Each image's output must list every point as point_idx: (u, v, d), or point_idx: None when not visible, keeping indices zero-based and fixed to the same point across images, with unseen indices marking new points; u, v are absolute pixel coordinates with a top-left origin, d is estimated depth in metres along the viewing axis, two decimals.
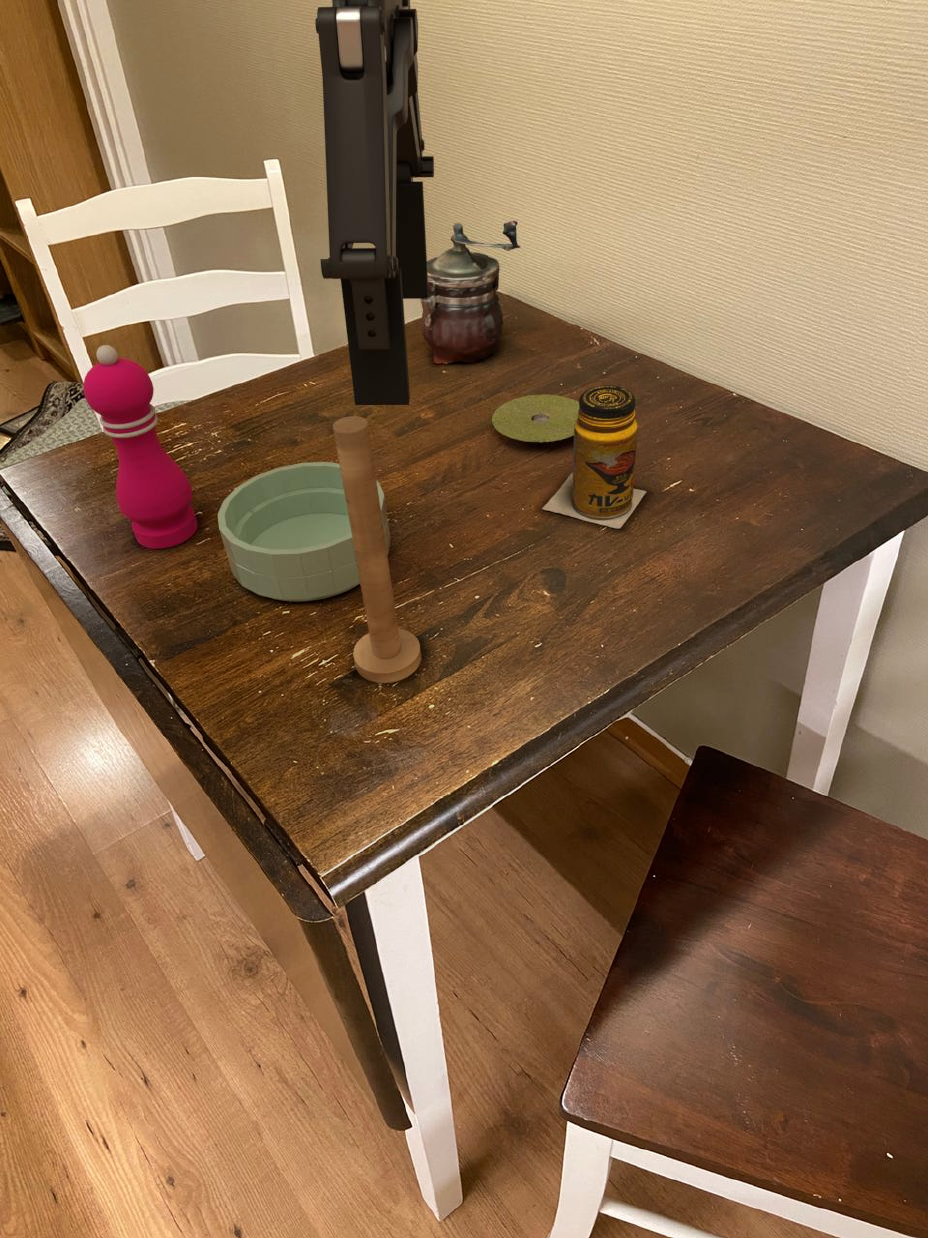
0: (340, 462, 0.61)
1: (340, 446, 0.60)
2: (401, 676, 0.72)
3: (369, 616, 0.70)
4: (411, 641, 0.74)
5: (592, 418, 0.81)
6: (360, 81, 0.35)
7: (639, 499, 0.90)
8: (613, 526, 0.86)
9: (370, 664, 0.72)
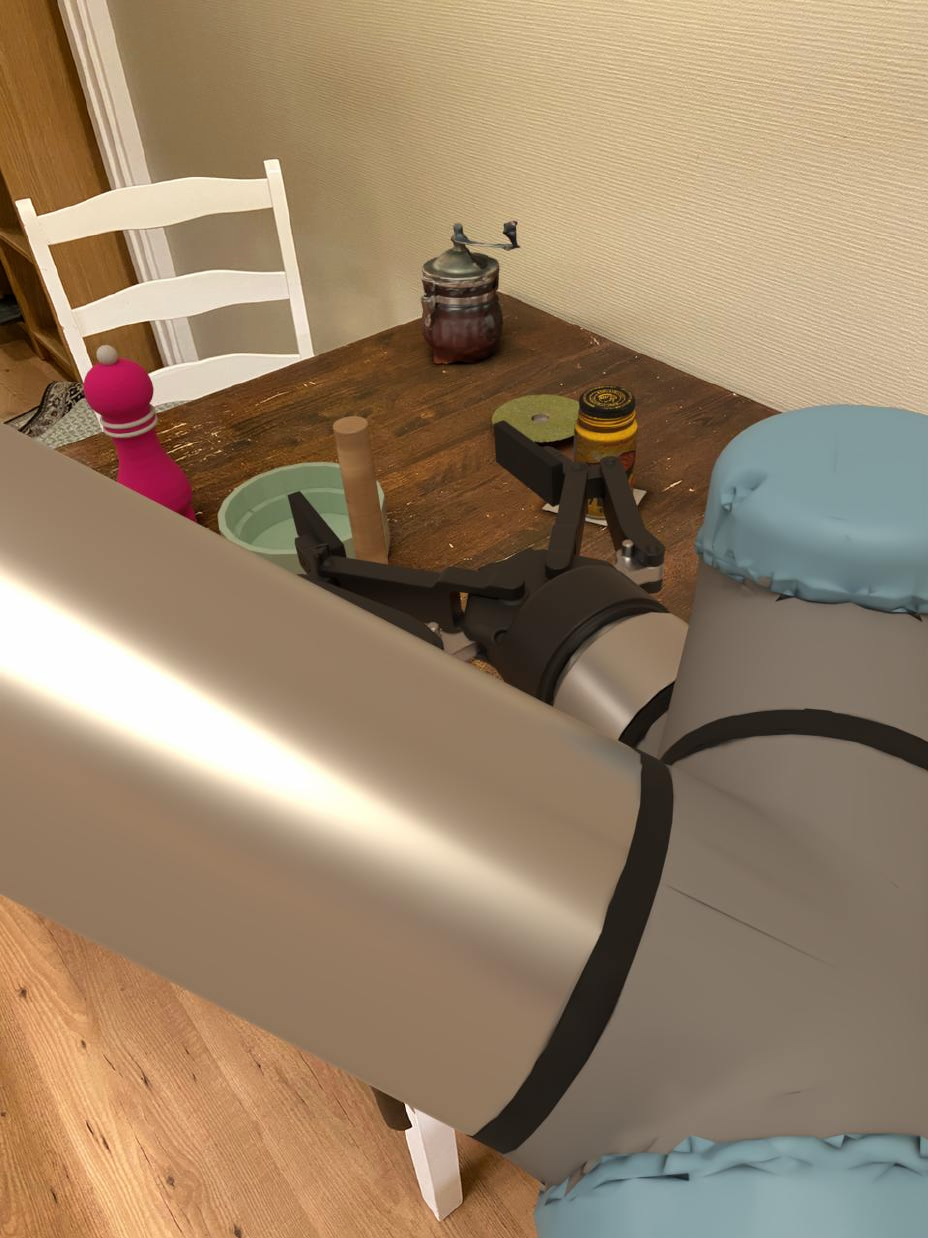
0: (340, 462, 0.61)
1: (340, 446, 0.60)
2: None
3: None
4: None
5: (592, 418, 0.81)
6: None
7: (639, 499, 0.90)
8: None
9: None
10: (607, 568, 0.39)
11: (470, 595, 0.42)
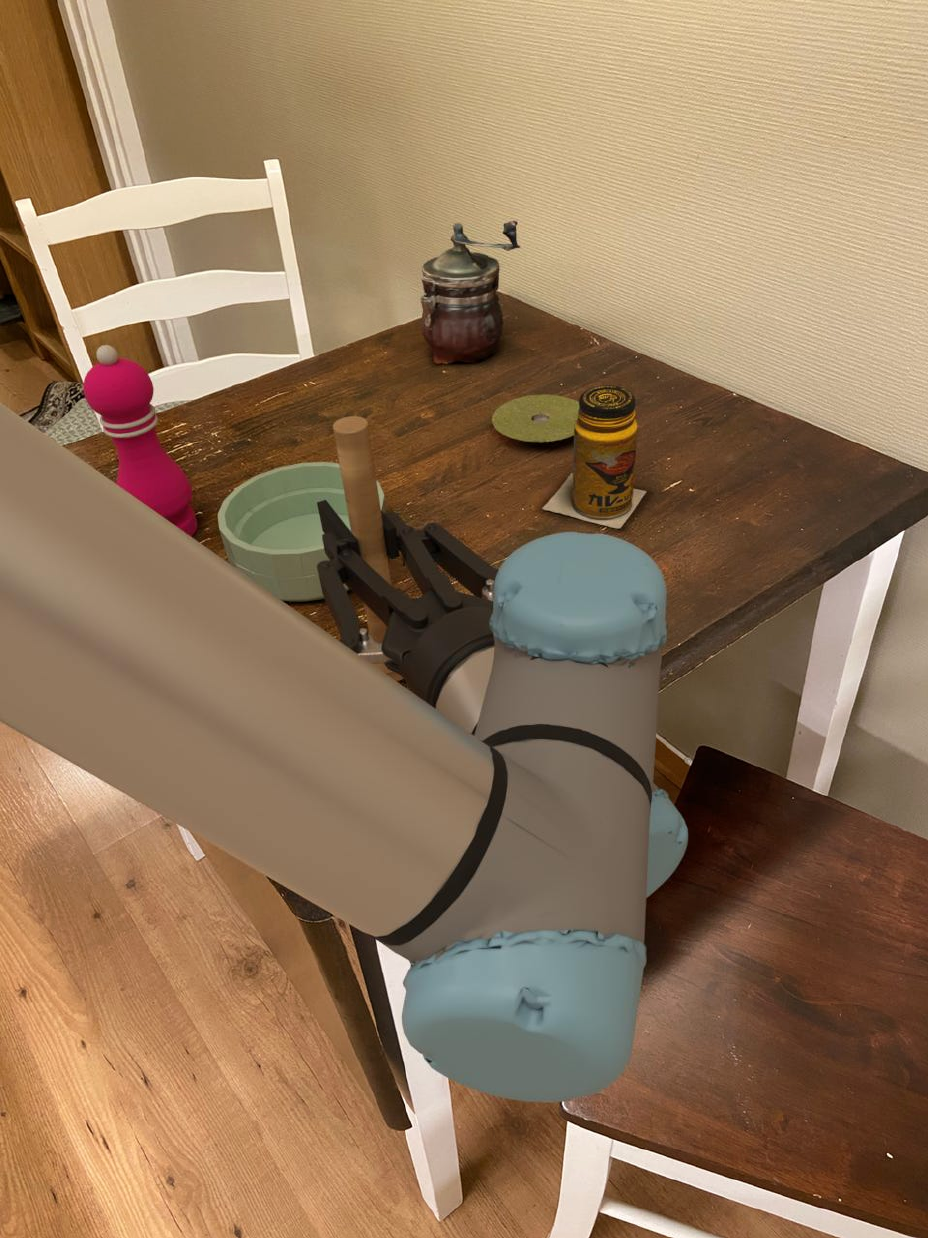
0: (340, 462, 0.61)
1: (340, 446, 0.60)
2: (401, 676, 0.72)
3: (369, 616, 0.70)
4: None
5: (592, 418, 0.81)
6: None
7: (639, 499, 0.90)
8: (613, 526, 0.86)
9: None
10: (483, 609, 0.54)
11: (389, 623, 0.58)
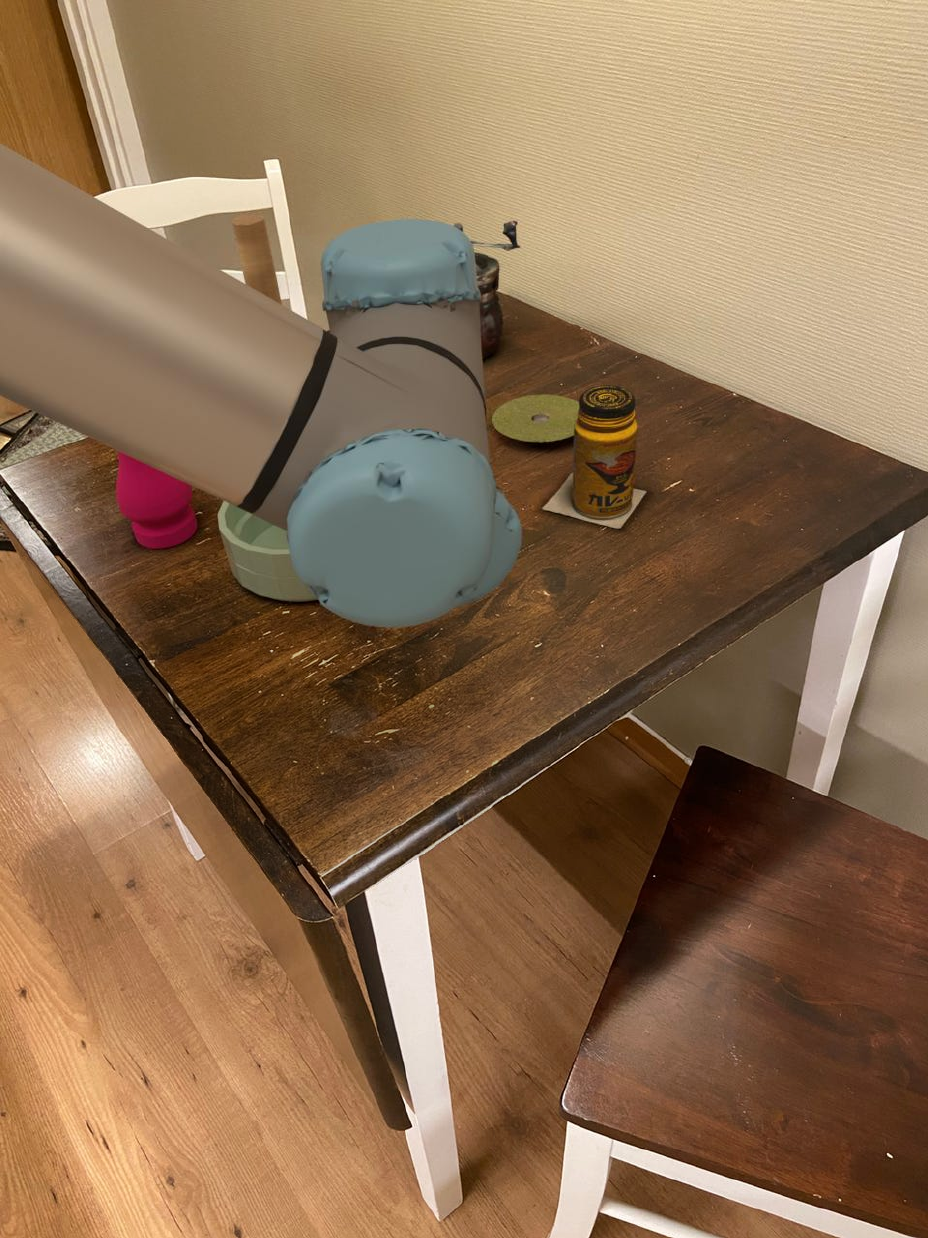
0: (240, 258, 0.65)
1: (238, 239, 0.64)
2: None
3: None
4: None
5: (592, 418, 0.81)
6: None
7: (639, 499, 0.90)
8: (613, 526, 0.86)
9: None
10: None
11: None
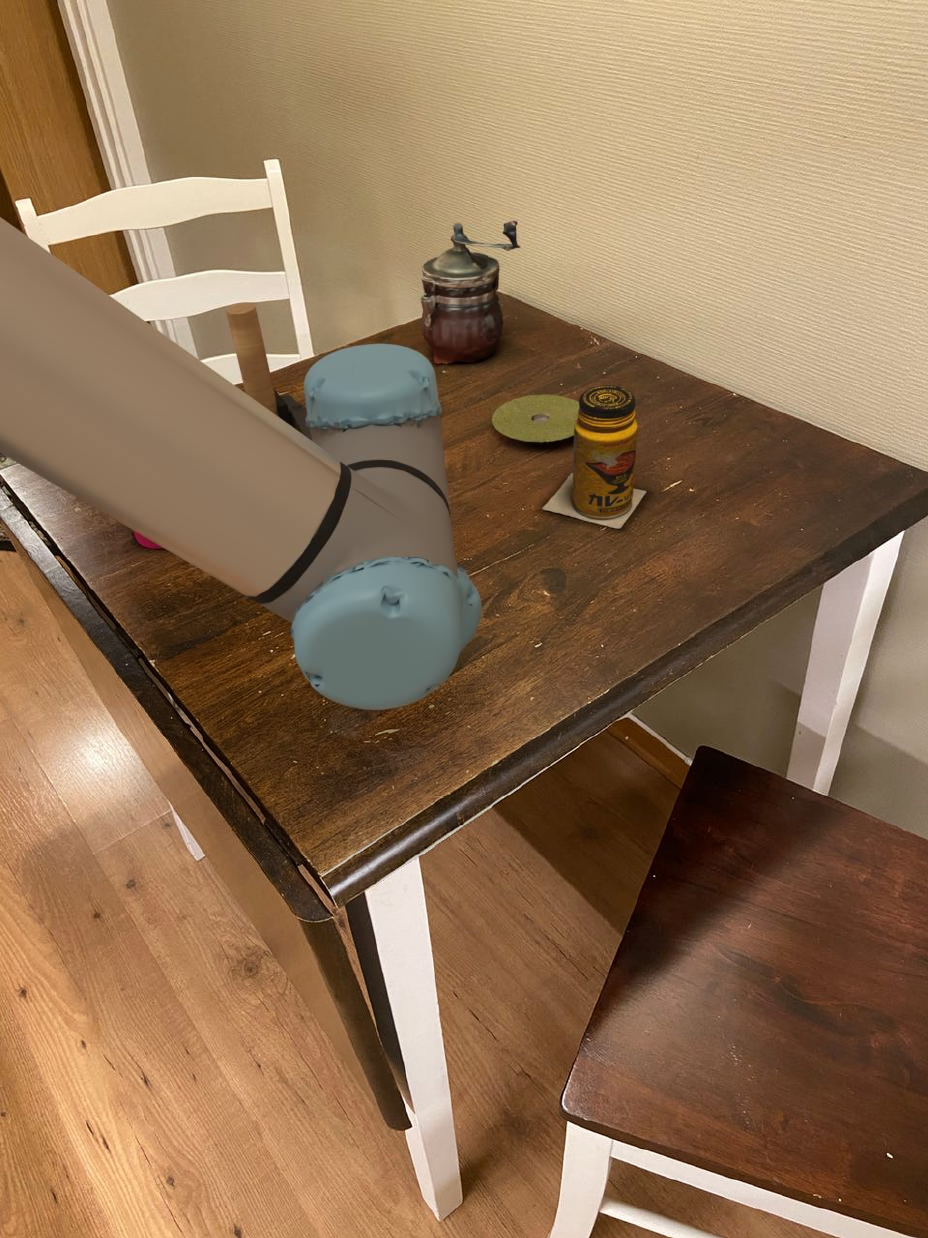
0: (234, 341, 0.72)
1: (232, 326, 0.71)
2: None
3: None
4: None
5: (592, 418, 0.81)
6: None
7: (639, 499, 0.90)
8: (613, 526, 0.86)
9: None
10: None
11: None
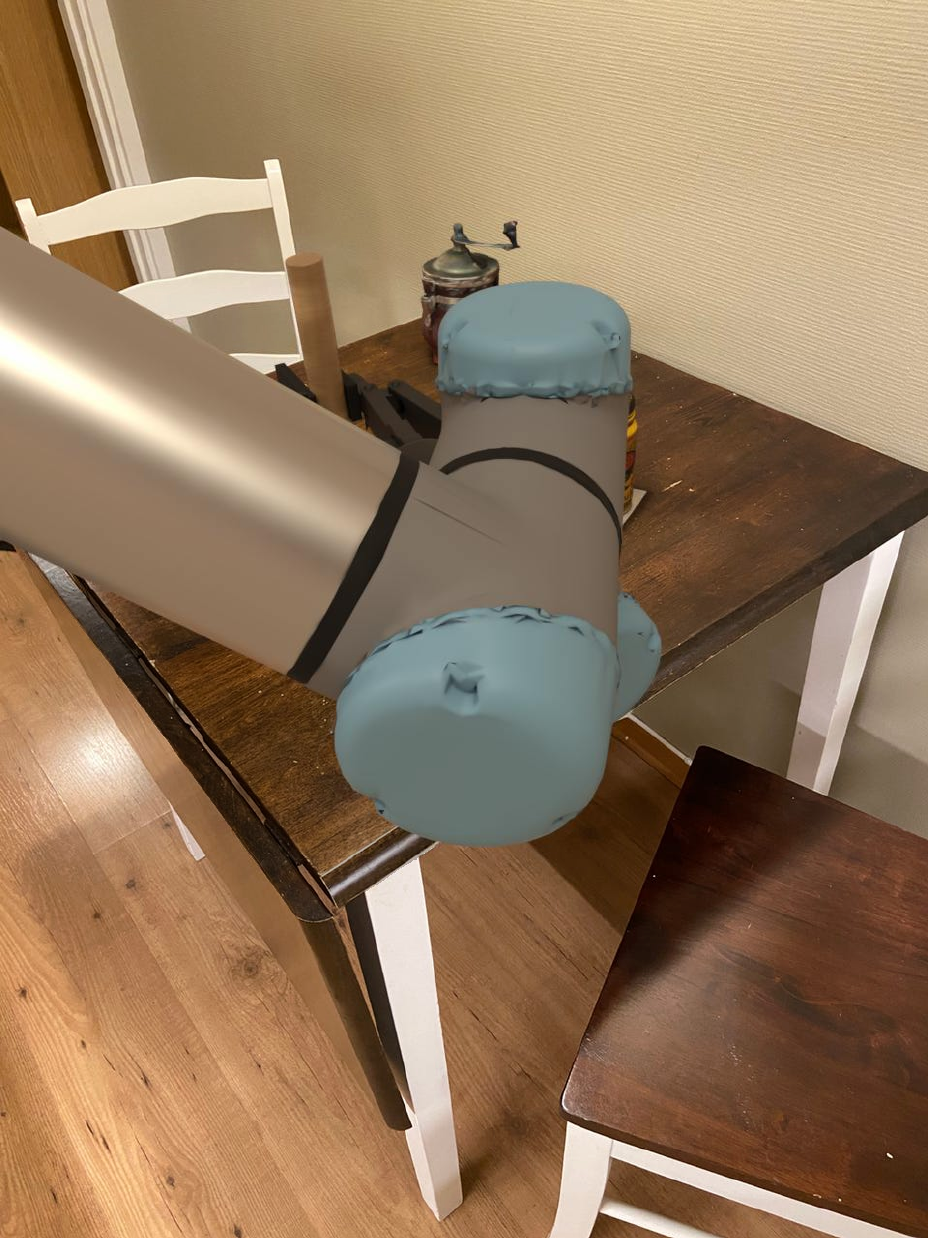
0: (294, 303, 0.57)
1: (293, 282, 0.56)
2: None
3: None
4: None
5: None
6: None
7: (639, 499, 0.90)
8: None
9: None
10: None
11: None
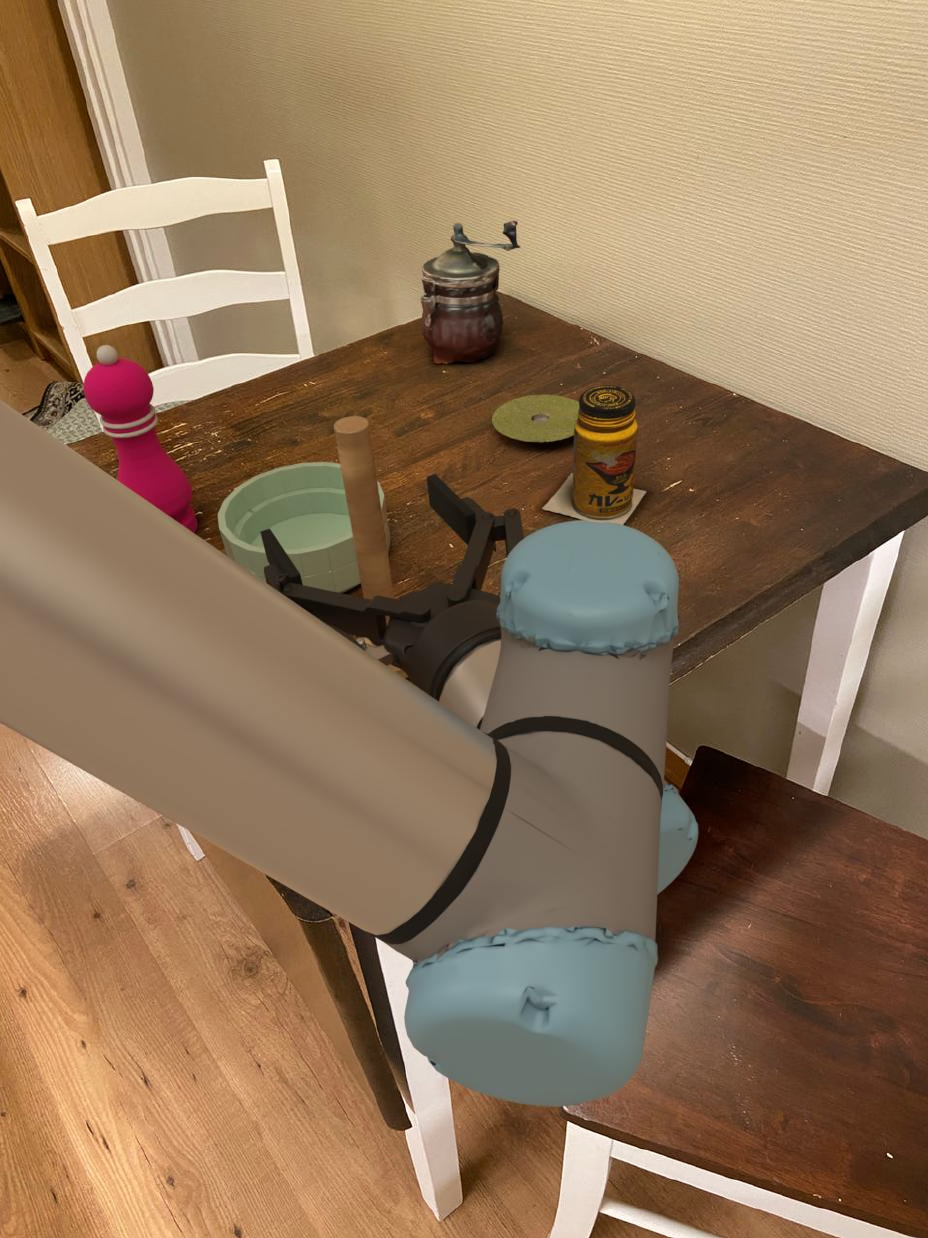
0: (341, 462, 0.61)
1: (341, 446, 0.60)
2: (402, 676, 0.72)
3: None
4: None
5: (592, 418, 0.81)
6: None
7: (639, 499, 0.90)
8: None
9: None
10: (487, 602, 0.53)
11: (391, 617, 0.57)
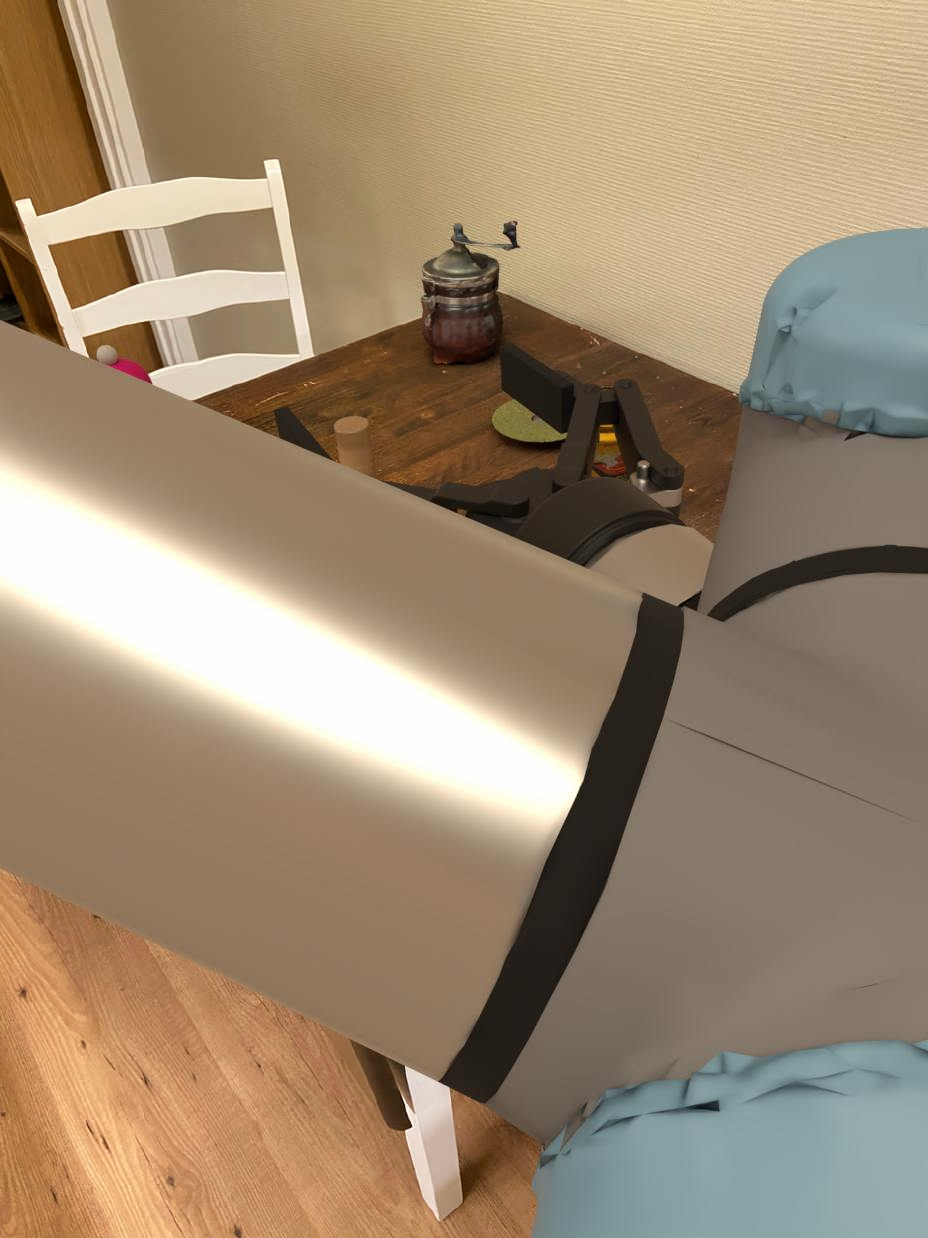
0: (341, 462, 0.61)
1: (341, 446, 0.60)
2: None
3: None
4: None
5: None
6: None
7: None
8: None
9: None
10: (622, 481, 0.35)
11: (469, 513, 0.38)
